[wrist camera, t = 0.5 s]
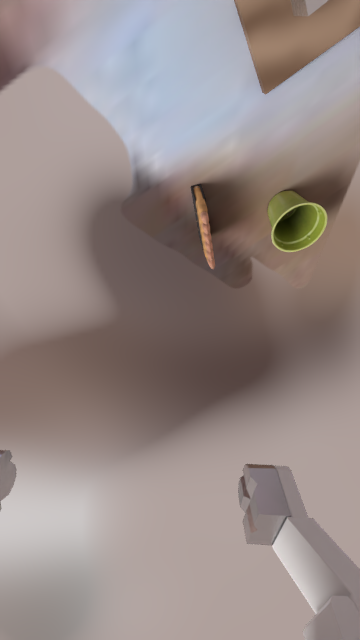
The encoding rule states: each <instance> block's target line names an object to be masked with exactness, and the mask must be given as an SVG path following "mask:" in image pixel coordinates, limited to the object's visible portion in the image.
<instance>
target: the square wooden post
mask: <svg viewBox="0 0 360 640" xmlns="http://www.w3.org/2000/svg"><path fill="white" fill-rule="evenodd" d="M327 1H329V0H291V5H292V10H293V15H294V16H309V15H311V14H312V13H313V12H315V11H316V10H317V9H318V8H320V7H321V6H322V5H324V4H325V3H326V2H327Z"/></svg>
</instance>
